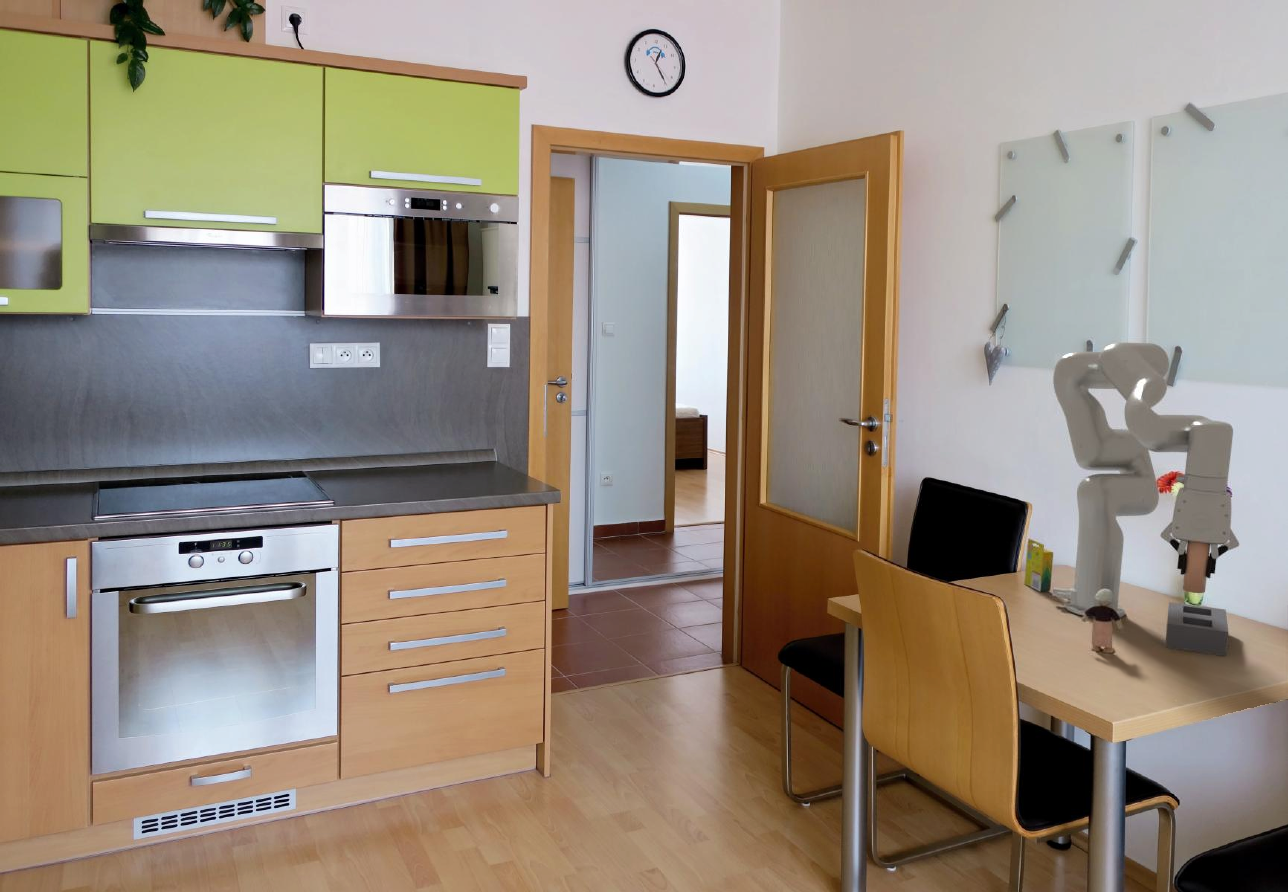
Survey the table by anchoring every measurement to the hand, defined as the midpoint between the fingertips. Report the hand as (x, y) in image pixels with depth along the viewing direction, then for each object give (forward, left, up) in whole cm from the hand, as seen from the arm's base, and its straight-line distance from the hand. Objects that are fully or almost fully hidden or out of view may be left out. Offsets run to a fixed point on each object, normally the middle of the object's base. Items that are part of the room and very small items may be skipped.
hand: (1195, 573), depth 215 cm
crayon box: (-33, +39, -17) cm, 54 cm away
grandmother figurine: (-16, -4, -17) cm, 24 cm away
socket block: (+2, +14, -17) cm, 22 cm away
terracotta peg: (0, 0, -3) cm, 3 cm away
